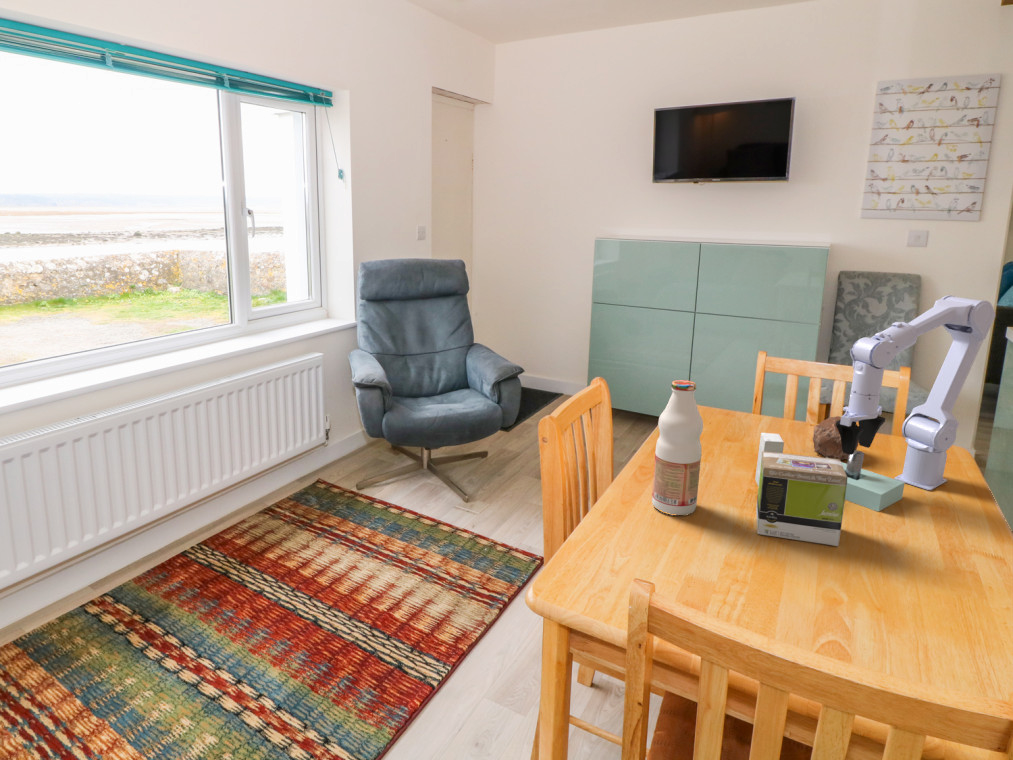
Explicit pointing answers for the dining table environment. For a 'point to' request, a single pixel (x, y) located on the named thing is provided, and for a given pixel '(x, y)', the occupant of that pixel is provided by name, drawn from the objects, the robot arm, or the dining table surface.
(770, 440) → the skincare box
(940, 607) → the dining table surface
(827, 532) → the tea box
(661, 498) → the fruit juice
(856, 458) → the metal peg
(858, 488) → the hole block
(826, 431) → the decorative rock
